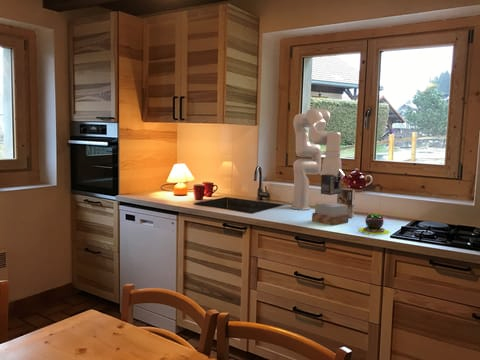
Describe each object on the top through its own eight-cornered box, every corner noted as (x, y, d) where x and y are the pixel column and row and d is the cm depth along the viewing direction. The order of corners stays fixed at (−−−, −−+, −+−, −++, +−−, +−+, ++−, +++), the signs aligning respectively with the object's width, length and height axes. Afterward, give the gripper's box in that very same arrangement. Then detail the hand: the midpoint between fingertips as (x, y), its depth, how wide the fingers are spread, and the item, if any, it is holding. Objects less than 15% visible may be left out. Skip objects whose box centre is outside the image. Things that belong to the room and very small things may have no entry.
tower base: (311, 222, 242) (312, 213, 241) (326, 219, 252) (327, 210, 251) (333, 226, 232) (333, 217, 231) (348, 223, 241) (348, 214, 241)
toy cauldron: (366, 226, 232) (367, 206, 231) (394, 231, 223) (395, 209, 222) (353, 231, 221) (354, 209, 220) (382, 236, 211) (383, 213, 210)
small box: (331, 192, 246) (332, 173, 245) (341, 193, 242) (342, 174, 240) (319, 193, 239) (320, 174, 238) (330, 195, 234) (331, 175, 233)
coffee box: (354, 216, 261) (355, 189, 259) (351, 218, 255) (353, 190, 253) (338, 214, 265) (340, 188, 263) (335, 216, 259) (337, 189, 258)
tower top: (315, 212, 242) (315, 203, 242) (329, 211, 250) (329, 202, 249) (332, 216, 233) (332, 207, 232) (346, 214, 240) (347, 205, 240)
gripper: (315, 154, 242) (313, 186, 243) (342, 156, 229) (340, 190, 231) (323, 154, 247) (321, 186, 249) (350, 155, 234) (348, 189, 236)
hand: (331, 187), depth 240 cm, fingers closed on small box, 6 cm apart
